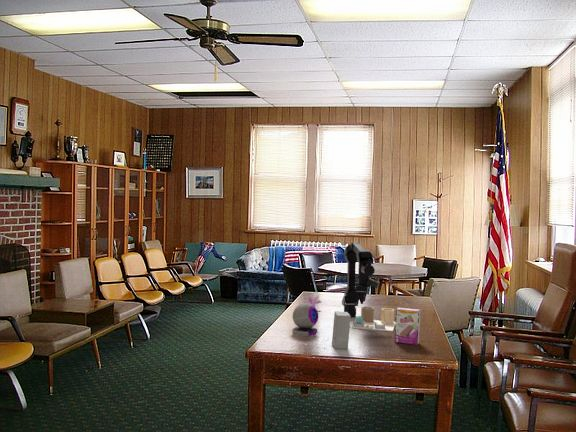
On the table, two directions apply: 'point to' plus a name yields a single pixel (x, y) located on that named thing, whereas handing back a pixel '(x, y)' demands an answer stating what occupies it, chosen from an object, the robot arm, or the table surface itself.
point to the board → (371, 324)
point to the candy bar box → (407, 326)
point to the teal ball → (359, 319)
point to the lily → (312, 300)
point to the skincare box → (341, 330)
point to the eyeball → (305, 319)
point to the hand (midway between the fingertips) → (362, 302)
